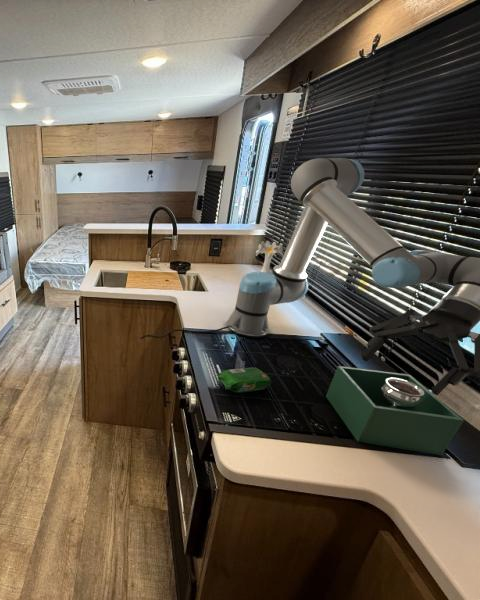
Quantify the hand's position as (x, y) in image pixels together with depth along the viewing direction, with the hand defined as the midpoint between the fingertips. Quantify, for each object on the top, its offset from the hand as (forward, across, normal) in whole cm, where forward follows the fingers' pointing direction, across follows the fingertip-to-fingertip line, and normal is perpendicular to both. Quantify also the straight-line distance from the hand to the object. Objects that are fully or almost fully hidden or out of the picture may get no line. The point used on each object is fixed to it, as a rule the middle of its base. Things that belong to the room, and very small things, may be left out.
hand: (396, 374), depth 73 cm
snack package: (+25, +23, +2) cm, 34 cm away
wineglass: (+9, -2, -12) cm, 16 cm away
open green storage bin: (+10, 0, -13) cm, 16 cm away
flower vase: (-31, +87, -55) cm, 107 cm away
